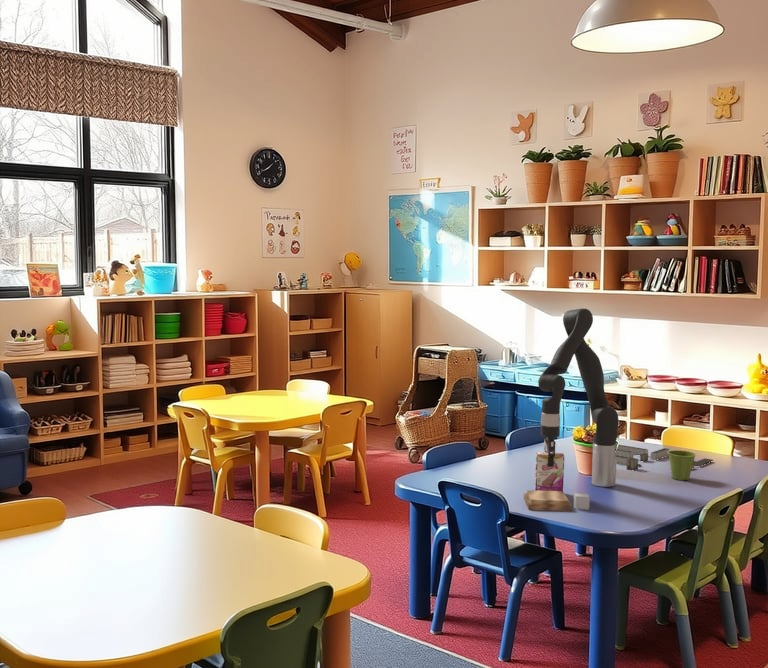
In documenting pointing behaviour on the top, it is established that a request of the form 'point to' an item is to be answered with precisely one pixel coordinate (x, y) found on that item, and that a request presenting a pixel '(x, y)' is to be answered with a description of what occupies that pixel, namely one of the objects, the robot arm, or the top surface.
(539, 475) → the candy bar box
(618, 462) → the building set
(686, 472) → the plant pot
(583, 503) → the grey cube
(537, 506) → the plinth
